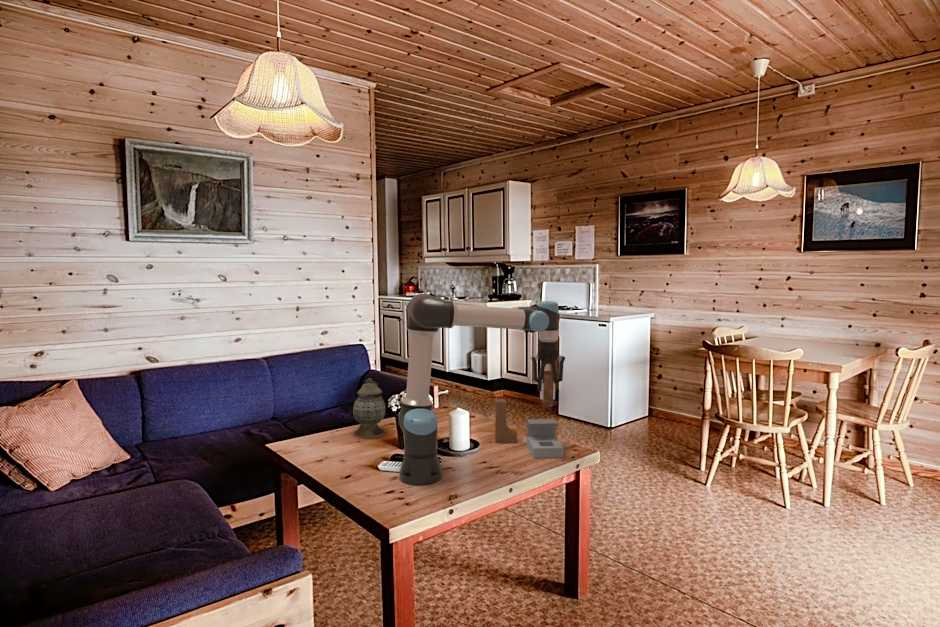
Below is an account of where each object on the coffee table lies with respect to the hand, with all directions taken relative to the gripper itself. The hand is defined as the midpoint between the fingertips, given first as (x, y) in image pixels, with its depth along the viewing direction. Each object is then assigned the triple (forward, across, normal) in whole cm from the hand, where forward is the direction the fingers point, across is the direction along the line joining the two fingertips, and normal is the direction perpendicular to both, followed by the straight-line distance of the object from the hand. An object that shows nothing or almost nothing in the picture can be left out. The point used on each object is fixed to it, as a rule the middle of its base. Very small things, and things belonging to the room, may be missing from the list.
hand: (547, 398), depth 227 cm
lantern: (+22, -73, +31) cm, 83 cm away
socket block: (+23, 0, +3) cm, 23 cm away
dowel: (+3, 0, 0) cm, 3 cm away
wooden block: (+23, -14, +16) cm, 31 cm away
